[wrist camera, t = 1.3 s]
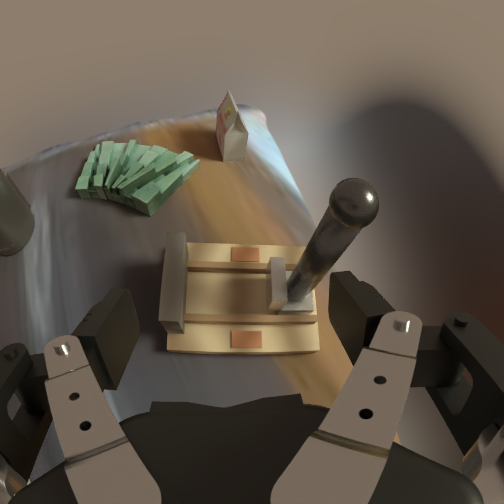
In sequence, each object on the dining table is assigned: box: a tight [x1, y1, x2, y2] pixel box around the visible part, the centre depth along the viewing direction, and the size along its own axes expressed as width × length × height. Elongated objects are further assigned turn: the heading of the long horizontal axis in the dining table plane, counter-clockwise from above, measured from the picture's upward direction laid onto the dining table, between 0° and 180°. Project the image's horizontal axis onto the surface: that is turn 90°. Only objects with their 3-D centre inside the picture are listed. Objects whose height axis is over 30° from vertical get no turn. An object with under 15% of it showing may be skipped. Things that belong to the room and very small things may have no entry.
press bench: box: [158, 232, 319, 354], centre depth 35 cm, size 18×14×8 cm
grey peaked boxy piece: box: [216, 92, 248, 162], centre depth 46 cm, size 4×7×10 cm, turn 15°
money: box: [75, 140, 200, 217], centre depth 44 cm, size 20×16×5 cm
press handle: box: [265, 178, 379, 315], centre depth 28 cm, size 6×5×21 cm
